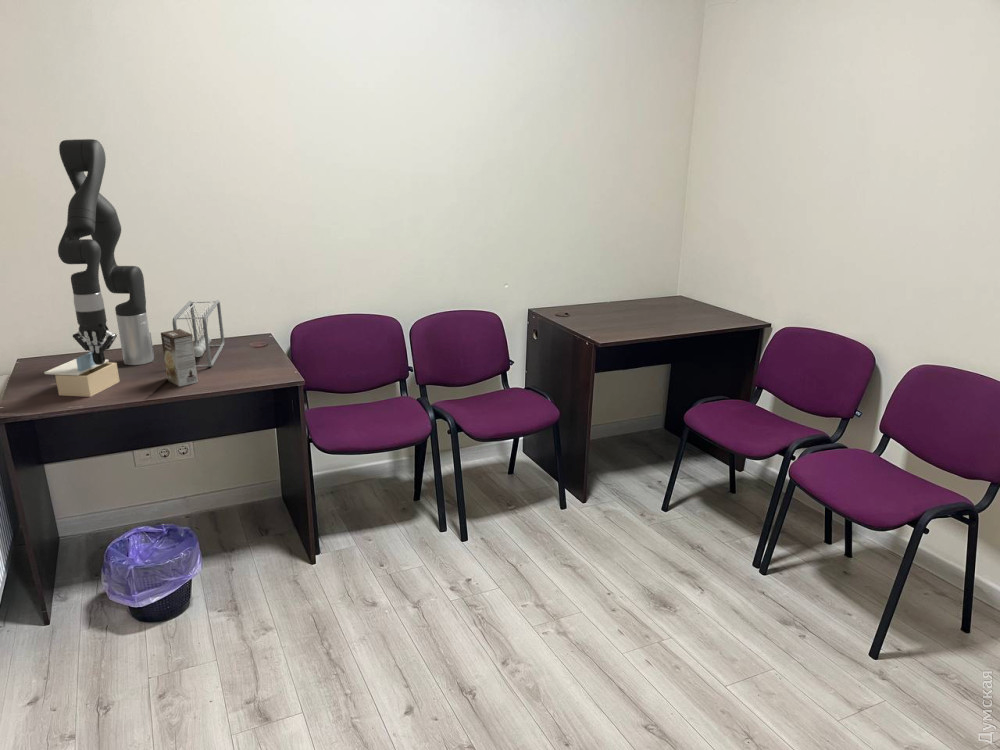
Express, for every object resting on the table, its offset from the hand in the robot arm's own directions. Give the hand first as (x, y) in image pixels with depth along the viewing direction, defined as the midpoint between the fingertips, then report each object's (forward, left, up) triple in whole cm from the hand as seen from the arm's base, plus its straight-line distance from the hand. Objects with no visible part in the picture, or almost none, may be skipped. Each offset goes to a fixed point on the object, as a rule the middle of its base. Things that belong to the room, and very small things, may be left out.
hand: (99, 363), depth 212 cm
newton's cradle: (-39, +11, -9) cm, 41 cm away
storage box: (0, -4, -9) cm, 10 cm away
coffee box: (-12, +19, -9) cm, 24 cm away
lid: (0, -7, -1) cm, 7 cm away
